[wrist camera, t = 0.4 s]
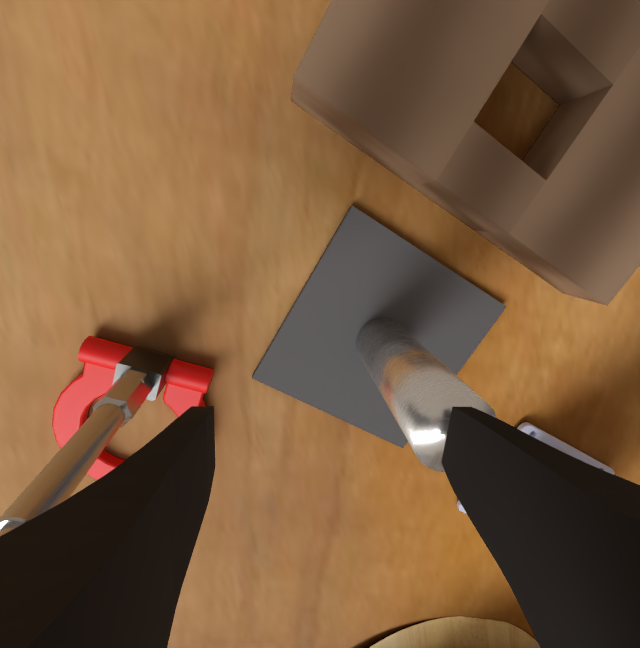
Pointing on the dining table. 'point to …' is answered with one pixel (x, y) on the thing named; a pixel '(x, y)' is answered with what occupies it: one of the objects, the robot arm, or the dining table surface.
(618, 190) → the hole block
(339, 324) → the mat
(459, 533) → the dining table surface
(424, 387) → the peg
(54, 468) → the tow hook
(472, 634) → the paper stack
